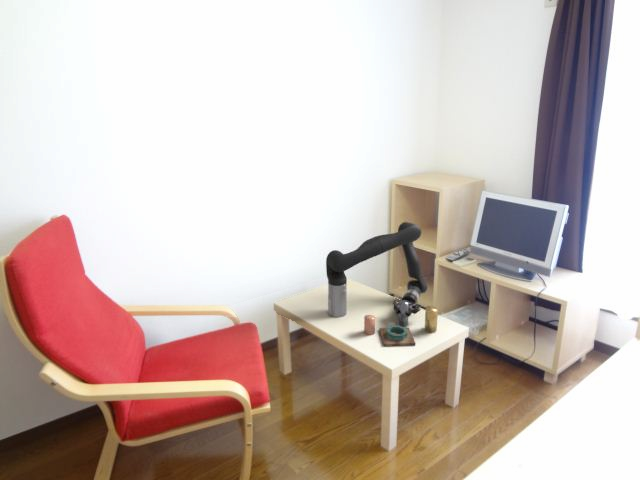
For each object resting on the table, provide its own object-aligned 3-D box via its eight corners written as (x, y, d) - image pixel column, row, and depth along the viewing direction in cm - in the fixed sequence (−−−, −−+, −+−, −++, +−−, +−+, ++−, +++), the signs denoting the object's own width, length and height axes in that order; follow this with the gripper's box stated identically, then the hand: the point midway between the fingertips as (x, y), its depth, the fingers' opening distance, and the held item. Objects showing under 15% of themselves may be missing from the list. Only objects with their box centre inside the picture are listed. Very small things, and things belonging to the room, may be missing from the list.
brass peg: (426, 332, 210) (427, 311, 207) (423, 327, 215) (424, 306, 212) (437, 332, 210) (439, 311, 207) (434, 326, 215) (436, 305, 212)
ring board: (384, 346, 199) (384, 338, 198) (379, 330, 213) (379, 323, 212) (415, 345, 200) (415, 338, 199) (408, 329, 213) (408, 322, 212)
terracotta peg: (364, 335, 209) (365, 319, 206) (363, 329, 214) (363, 314, 211) (375, 334, 209) (375, 319, 206) (373, 329, 214) (374, 314, 211)
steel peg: (399, 326, 215) (400, 304, 212) (397, 322, 220) (398, 300, 216) (408, 326, 216) (409, 304, 212) (406, 322, 220) (407, 299, 216)
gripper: (396, 290, 229) (388, 304, 214) (424, 294, 224) (417, 309, 209) (396, 303, 232) (387, 318, 217) (424, 308, 226) (417, 323, 211)
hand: (402, 313), depth 213 cm, fingers closed on steel peg, 4 cm apart
